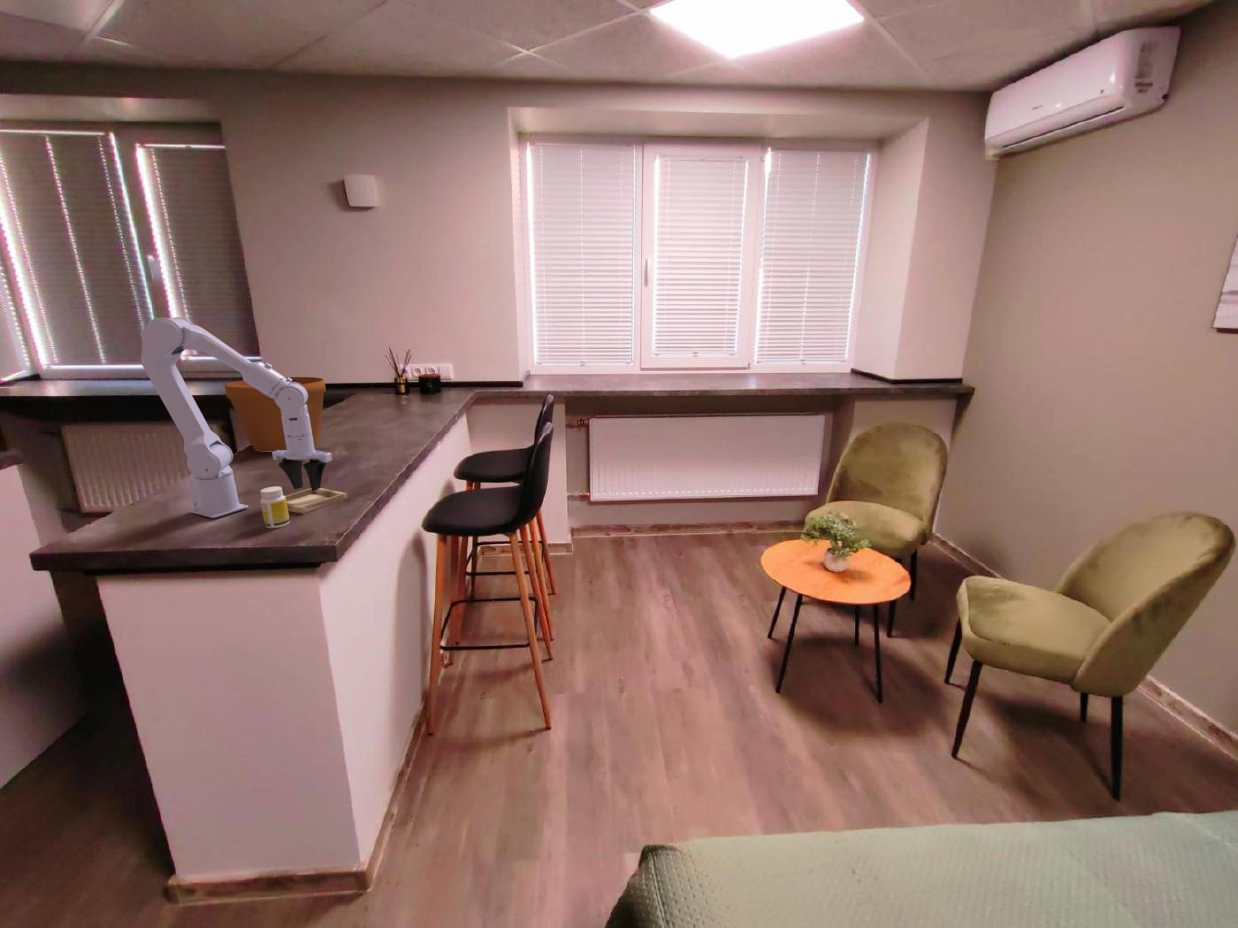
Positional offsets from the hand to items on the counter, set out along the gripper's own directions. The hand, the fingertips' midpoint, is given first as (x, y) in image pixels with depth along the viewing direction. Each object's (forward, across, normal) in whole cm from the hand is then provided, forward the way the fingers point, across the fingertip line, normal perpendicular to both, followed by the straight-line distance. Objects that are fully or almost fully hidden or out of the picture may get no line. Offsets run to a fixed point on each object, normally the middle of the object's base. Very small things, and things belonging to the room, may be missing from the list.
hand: (307, 488), depth 132 cm
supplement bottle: (+4, +3, -13) cm, 14 cm away
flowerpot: (+4, -45, +45) cm, 64 cm away
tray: (+4, 0, 0) cm, 4 cm away
